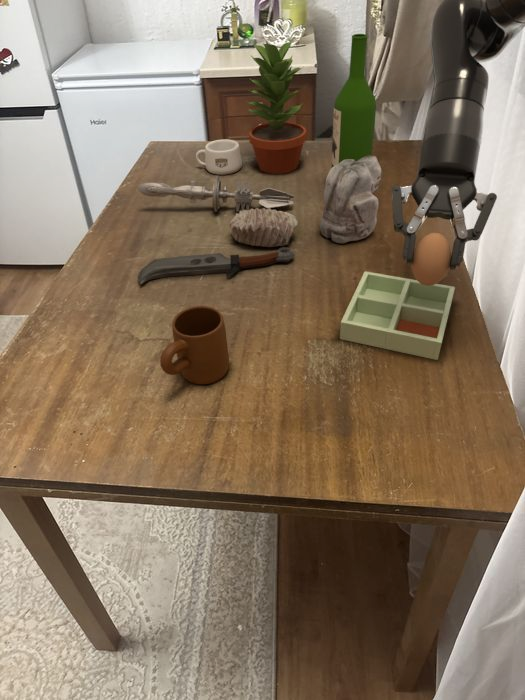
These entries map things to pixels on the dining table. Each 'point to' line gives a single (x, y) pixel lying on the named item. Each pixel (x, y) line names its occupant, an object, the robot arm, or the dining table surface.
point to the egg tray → (398, 315)
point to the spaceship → (219, 194)
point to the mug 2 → (221, 157)
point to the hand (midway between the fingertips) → (430, 265)
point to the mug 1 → (197, 346)
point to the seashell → (263, 227)
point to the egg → (431, 259)
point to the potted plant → (276, 113)
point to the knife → (209, 264)
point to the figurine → (351, 200)
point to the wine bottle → (354, 110)
